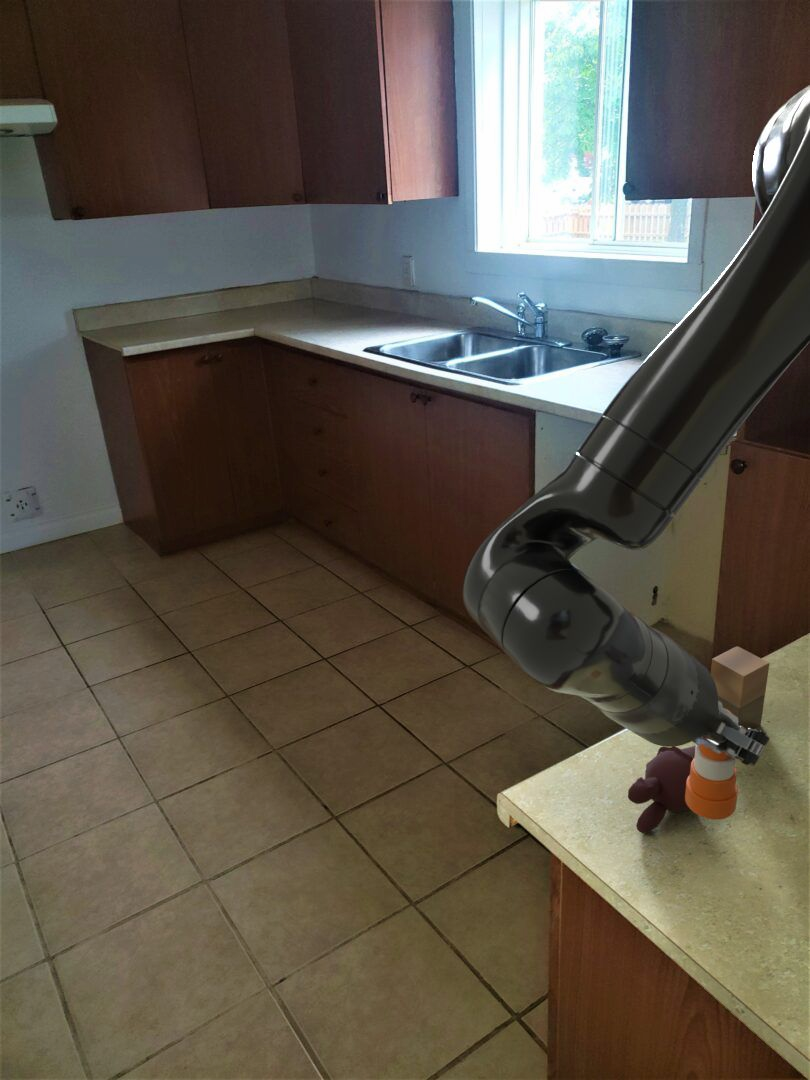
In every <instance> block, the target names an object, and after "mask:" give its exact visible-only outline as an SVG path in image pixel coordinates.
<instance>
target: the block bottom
mask: <svg viewBox="0 0 810 1080" xmlns="http://www.w3.org/2000/svg"><path fill="white" fill-rule="evenodd" d="M765 696H766V693H765V694H764V695H763V696H761V697H759V698H757V699H756V700H754V701H752V702H750V703H748V704H747V705H745V706H743V707H741V708H739V707H737V706H736V705H734V704H732V703H731V702H729V701H727V700H725V699H724V698H722V697H720V696H719V695H718V701H720V702H721V703H722V705H723V708H725V709H727V710H729V711H730V712H731V713H732V714H733V715H735V716H736V717H738V719H739V722H738V725H739V726H742V727H744V728H745V729H746V731H747V729H748V728H751V729H752V730H755V729H756V728H758V727H759V726H760V725H762V718H763V711H764V706H765V705H764V704H765V698H766V697H765Z"/></svg>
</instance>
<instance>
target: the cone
mask: <svg viewBox="0 0 810 1080" xmlns="http://www.w3.org/2000/svg"><path fill="white" fill-rule="evenodd" d="M724 709H725V708H724ZM726 710H727V709H726ZM727 711H729V710H727ZM729 712H730V711H729ZM730 713H731V712H730ZM702 737H703V736H702ZM704 738H705V737H704ZM705 739H707V738H705ZM695 746H696V748H695V758H694V759H693V761H692V763H691V770H690V775H689V776H688V778H687V781H686V793H685V801H686V804H687V805H688V807H689V808H690V809H689V810H691V811H692V812H693V813H694V814H696V815H697V816H699V817H702V818H705V819H708V820H724V819H727V818H729V817H731V816H733V814H734V813H735V812H736V809H737V802H738V801H737V800H738V793H739V788H738V785H737V776H738V770H737V768H736V760H737V759H736V758H735V757H733V756H731V757H730V756H728V755H726V754H725V753H726V752H724V751H723V752H721V753H719V754H718V753H716V752H714V751H712V750H711V749H709V748H707V747H705V746H704V745H702V744H701V745H698V744H696V745H695Z"/></svg>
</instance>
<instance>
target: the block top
mask: <svg viewBox="0 0 810 1080" xmlns="http://www.w3.org/2000/svg"><path fill="white" fill-rule="evenodd" d="M769 670H770V662H769V661H767V660H765V659H763V658H761V657H759V656H757V655H756V654H754V653H752V652H749V651H748V650H746V649H744V648H742V647H741V646H738V645H737V646H735V647H733V648H731V649H729V650H727V651H725V652H723V653H721V654H719V655H717V656H715V657H713V658H711V667H710V674H711V676H712V677H713V679H714V682H715V684H716V688H717V693H718V695H719V696H720V697H722V698H724V699H725V700H727V701H729V702H731V703H732V704H734V705H736V706H737V707H739V708H741V707H743V706H745V705H747V704H748V703H750V702H752V701H754V700H756V699H757V698H759V697H761V696H763V695H764V694H765V695H766V690H767V685H768V677H769Z"/></svg>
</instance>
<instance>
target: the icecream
mask: <svg viewBox="0 0 810 1080" xmlns="http://www.w3.org/2000/svg"><path fill="white" fill-rule="evenodd" d="M695 748H696V745H693V746H689V747H685V748H680V747H678V746H674V747H665V746H661V747H659V749H658V751H657V753H656V755H655V756H654V757H653V758H652V759H651V760H650V761H648V762H647V763H646V764H645V772H644V773H645V774H644V778H643V777H642V776H640V777H638V778H637V779H636V780H635V782H634V783H632V785H631V786H630V787H629V788H628V791H627V799H628V800H629V801H630V802H631V803H633V804H635V805H641V804H645V803H647V802H649V801H651V800H652V801H653V802H652V803H651V804H649V805H648V806H647V807H646V808H645V809H643V811H642V812H641V814H640V816H639V817H638V819H637V822H636V830H637V831H638V832H639V833H641V834H648V833H650V832H652V831H653V830H655V829H656V828H658V827H659V825H660V824H661V822H662V821H663V819H664V818H665V815H666V813H667V811H670V812H674V813H679V812H685V811H688V810H691V809H690V808H689V807H688V805H687V804H686V801H685V793H686V781H687V778H688V776H689V775H690V770H691V763H692V761H693V759H694V758H695Z"/></svg>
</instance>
